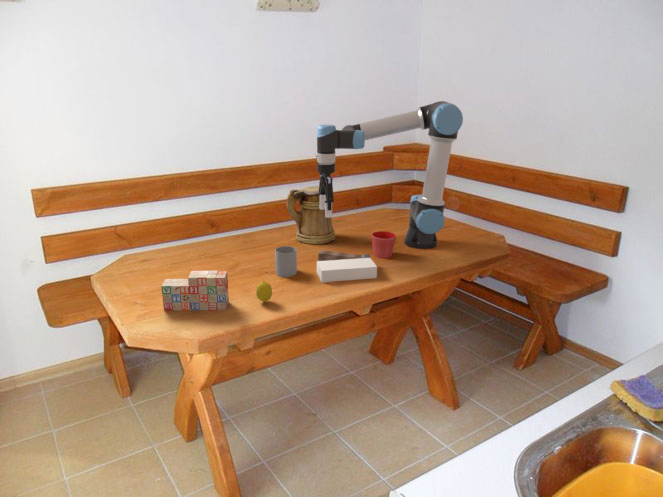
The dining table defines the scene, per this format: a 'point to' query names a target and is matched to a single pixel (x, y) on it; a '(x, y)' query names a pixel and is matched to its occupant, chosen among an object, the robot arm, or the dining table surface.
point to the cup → (286, 261)
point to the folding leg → (338, 256)
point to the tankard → (310, 216)
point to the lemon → (264, 291)
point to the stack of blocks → (197, 291)
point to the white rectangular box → (346, 269)
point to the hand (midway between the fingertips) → (325, 213)
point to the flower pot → (383, 243)
